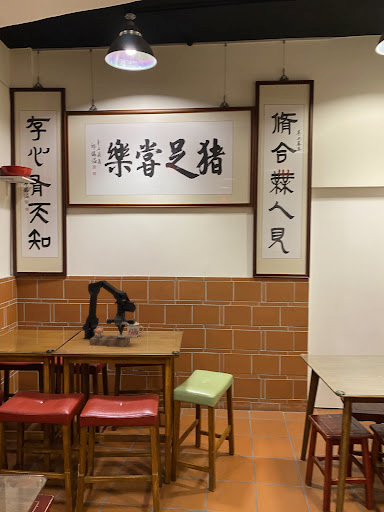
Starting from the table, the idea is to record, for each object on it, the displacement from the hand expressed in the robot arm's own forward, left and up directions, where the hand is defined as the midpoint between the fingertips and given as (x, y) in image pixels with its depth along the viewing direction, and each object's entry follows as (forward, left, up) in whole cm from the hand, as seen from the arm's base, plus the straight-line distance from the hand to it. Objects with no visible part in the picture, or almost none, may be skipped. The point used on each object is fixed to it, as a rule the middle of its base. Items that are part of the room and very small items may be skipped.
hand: (121, 334), depth 265 cm
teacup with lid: (+3, +24, -7) cm, 25 cm away
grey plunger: (0, 0, -7) cm, 7 cm away
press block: (-8, 0, -7) cm, 10 cm away
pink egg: (-15, 0, -3) cm, 15 cm away
